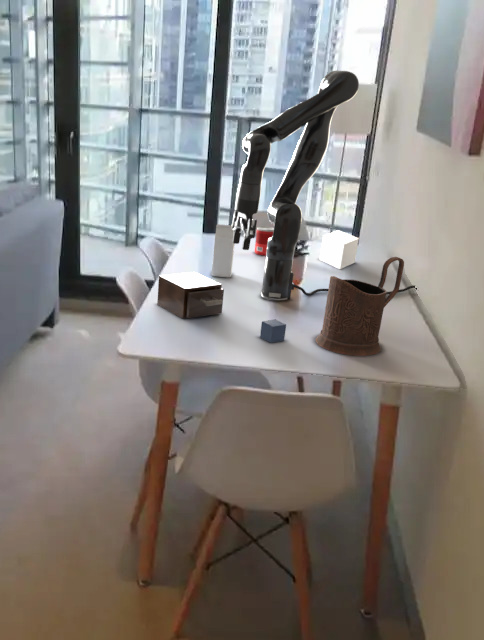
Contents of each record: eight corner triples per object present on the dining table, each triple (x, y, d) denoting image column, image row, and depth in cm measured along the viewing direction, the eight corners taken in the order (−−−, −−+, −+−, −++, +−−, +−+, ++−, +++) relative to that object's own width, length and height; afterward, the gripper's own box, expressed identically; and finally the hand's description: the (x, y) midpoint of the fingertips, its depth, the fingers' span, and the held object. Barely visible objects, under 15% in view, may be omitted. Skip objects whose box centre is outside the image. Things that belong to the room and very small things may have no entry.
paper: (321, 267, 291) (325, 242, 287) (317, 251, 317) (320, 228, 313) (358, 271, 289) (362, 245, 285) (351, 254, 315) (355, 231, 311)
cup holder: (302, 336, 213) (314, 253, 204) (366, 328, 222) (381, 249, 213) (342, 358, 198) (357, 270, 188) (409, 349, 207) (427, 265, 197)
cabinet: (219, 313, 230) (221, 284, 226) (182, 318, 224) (184, 288, 220) (192, 300, 243) (194, 271, 239) (157, 304, 236) (158, 275, 232)
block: (273, 335, 213) (275, 319, 211) (284, 340, 209) (286, 324, 207) (259, 337, 211) (261, 321, 209) (270, 343, 207) (272, 326, 205)
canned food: (274, 256, 306) (277, 230, 302) (255, 255, 306) (258, 229, 302) (271, 252, 313) (274, 226, 309) (253, 251, 313) (255, 226, 309)
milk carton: (230, 278, 271) (235, 227, 263) (211, 276, 272) (215, 226, 264) (231, 273, 277) (236, 224, 270) (213, 271, 278) (217, 222, 271)
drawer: (230, 317, 224) (233, 293, 221) (196, 322, 218) (198, 297, 215) (196, 300, 239) (198, 277, 236) (164, 304, 233) (165, 280, 230)
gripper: (267, 202, 228) (259, 252, 234) (250, 193, 240) (242, 241, 247) (246, 201, 226) (238, 251, 232) (229, 192, 238) (222, 240, 245)
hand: (240, 246), depth 239 cm, fingers open, 8 cm apart
